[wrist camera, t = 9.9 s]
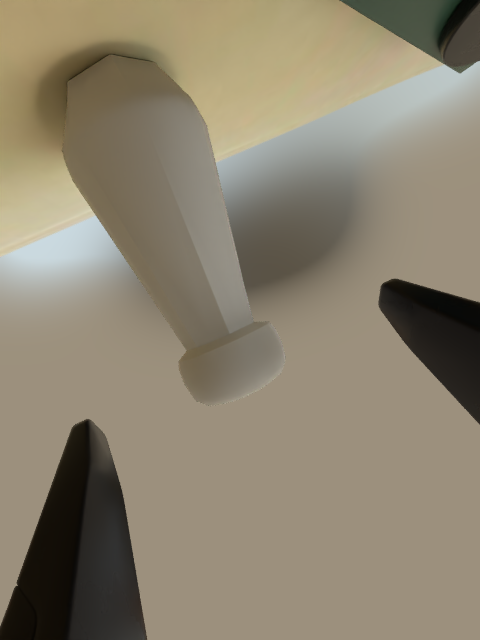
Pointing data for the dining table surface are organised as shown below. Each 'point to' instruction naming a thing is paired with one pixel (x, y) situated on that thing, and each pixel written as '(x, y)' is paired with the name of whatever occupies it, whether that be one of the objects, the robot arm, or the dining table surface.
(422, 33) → the stove
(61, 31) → the dining table surface
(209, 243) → the salt shaker
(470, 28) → the burner
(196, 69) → the dining table surface
